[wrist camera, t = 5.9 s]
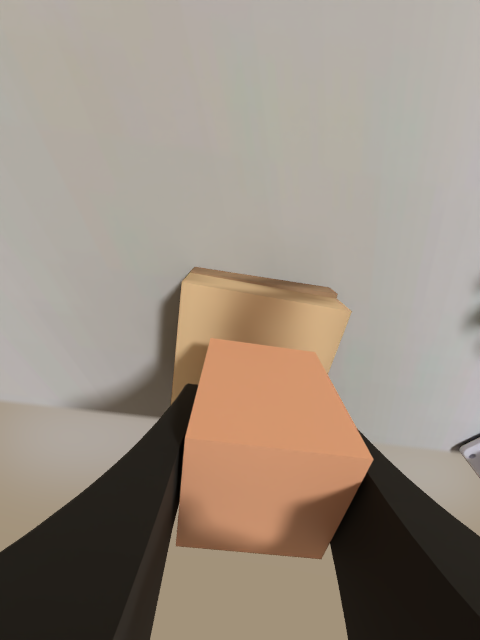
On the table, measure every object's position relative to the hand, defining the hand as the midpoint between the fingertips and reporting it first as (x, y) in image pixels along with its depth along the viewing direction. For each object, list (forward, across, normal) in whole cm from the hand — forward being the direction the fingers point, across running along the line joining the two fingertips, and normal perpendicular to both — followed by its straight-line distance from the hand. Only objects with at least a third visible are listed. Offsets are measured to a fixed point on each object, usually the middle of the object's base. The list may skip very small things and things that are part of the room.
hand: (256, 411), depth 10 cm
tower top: (+5, 0, 0) cm, 5 cm away
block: (+1, 0, 0) cm, 1 cm away
